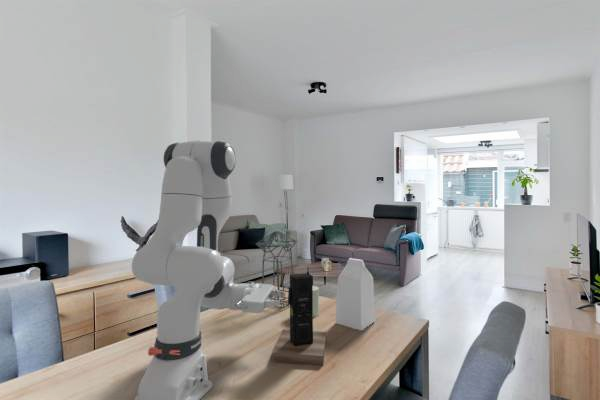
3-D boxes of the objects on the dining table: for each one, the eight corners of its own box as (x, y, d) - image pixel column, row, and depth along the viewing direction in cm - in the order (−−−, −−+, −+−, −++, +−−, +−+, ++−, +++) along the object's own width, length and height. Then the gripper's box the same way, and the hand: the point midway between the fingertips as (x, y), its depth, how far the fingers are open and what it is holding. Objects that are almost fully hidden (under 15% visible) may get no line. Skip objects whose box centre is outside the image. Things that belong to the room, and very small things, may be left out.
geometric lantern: (283, 312, 153) (281, 233, 152) (255, 307, 161) (253, 232, 160) (301, 302, 166) (299, 229, 165) (275, 297, 174) (272, 228, 173)
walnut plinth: (323, 365, 107) (323, 355, 107) (272, 362, 109) (272, 352, 109) (326, 340, 125) (326, 331, 125) (282, 337, 127) (282, 329, 127)
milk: (375, 321, 142) (375, 258, 141) (361, 330, 133) (361, 263, 132) (350, 315, 149) (350, 255, 149) (335, 323, 141) (335, 259, 140)
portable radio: (291, 347, 112) (291, 271, 111) (286, 339, 118) (286, 267, 117) (314, 344, 115) (314, 269, 114) (308, 336, 120) (307, 265, 120)
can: (295, 316, 148) (295, 288, 147) (301, 309, 156) (301, 283, 156) (316, 319, 145) (316, 290, 145) (321, 311, 154) (321, 284, 153)
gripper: (232, 297, 108) (276, 299, 106) (250, 280, 129) (287, 281, 127) (233, 317, 109) (276, 319, 107) (250, 297, 129) (287, 298, 127)
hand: (282, 298), depth 117 cm, fingers open, 8 cm apart
